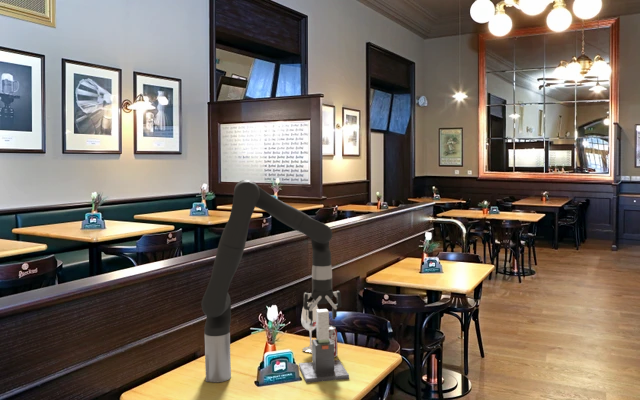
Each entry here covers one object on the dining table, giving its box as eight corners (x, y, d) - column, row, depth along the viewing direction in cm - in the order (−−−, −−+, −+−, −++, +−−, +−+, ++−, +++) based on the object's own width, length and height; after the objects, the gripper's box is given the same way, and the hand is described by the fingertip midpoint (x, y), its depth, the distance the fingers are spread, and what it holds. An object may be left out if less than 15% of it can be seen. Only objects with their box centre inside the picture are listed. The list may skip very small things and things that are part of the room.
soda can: (318, 357, 233) (317, 328, 232) (325, 352, 239) (325, 324, 238) (333, 360, 230) (332, 330, 229) (340, 355, 236) (339, 326, 235)
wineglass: (299, 348, 245) (298, 302, 243) (317, 346, 247) (316, 300, 246) (304, 354, 237) (303, 306, 236) (322, 352, 240) (321, 305, 238)
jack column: (318, 354, 214) (318, 312, 213) (316, 350, 218) (316, 309, 217) (329, 353, 215) (328, 311, 213) (327, 350, 219) (326, 308, 217)
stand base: (306, 382, 207) (305, 350, 206) (299, 367, 223) (298, 336, 222) (349, 378, 211) (348, 346, 210) (339, 363, 226) (338, 333, 225)
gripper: (305, 279, 209) (305, 323, 210) (342, 277, 212) (343, 320, 213) (301, 275, 216) (302, 318, 218) (338, 273, 219) (338, 315, 220)
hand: (322, 319), depth 215 cm, fingers open, 8 cm apart
